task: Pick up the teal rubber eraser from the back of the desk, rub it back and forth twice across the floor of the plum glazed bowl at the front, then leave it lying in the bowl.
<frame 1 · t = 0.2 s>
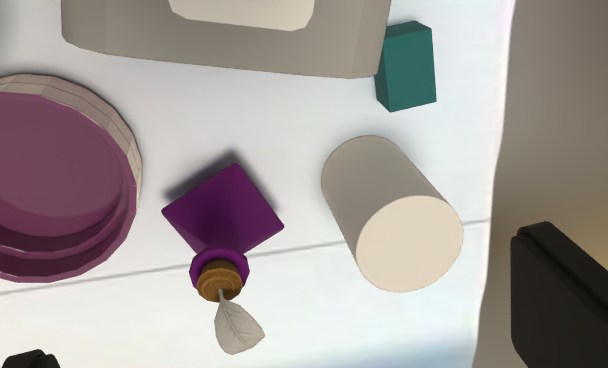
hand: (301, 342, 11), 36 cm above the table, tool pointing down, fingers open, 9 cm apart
bowl: (44, 165, 46), on the table
eraser: (395, 61, 48), on the table
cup: (364, 176, 52), on the table
perfume bottle: (222, 200, 50), on the table
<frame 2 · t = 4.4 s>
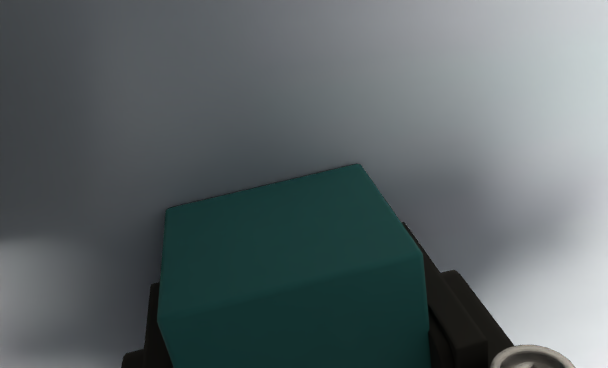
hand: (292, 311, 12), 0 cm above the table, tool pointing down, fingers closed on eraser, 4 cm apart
eraser: (290, 302, 13), on the table, touching gripper
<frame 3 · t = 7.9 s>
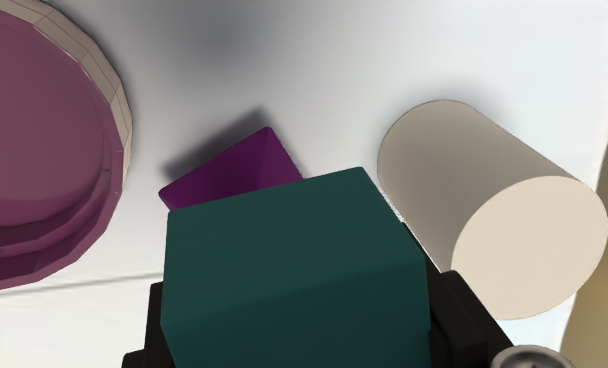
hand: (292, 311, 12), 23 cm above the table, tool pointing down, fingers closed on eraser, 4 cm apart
eraser: (292, 304, 13), point 23 cm above the table, touching gripper
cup: (434, 157, 38), on the table
perfume bottle: (242, 183, 37), on the table
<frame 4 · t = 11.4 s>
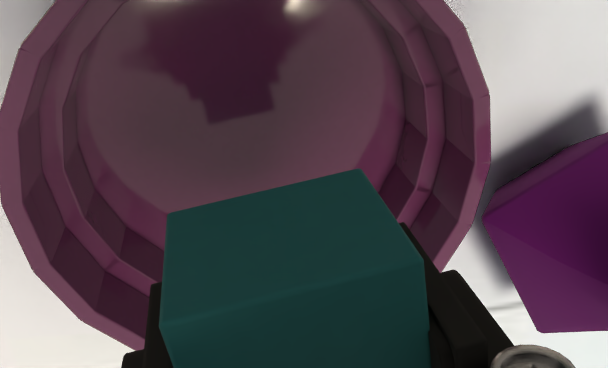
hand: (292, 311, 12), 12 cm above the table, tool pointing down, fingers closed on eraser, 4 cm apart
bowl: (247, 124, 23), on the table
eraser: (291, 306, 13), point 11 cm above the table, touching gripper
perfume bottle: (544, 198, 27), on the table
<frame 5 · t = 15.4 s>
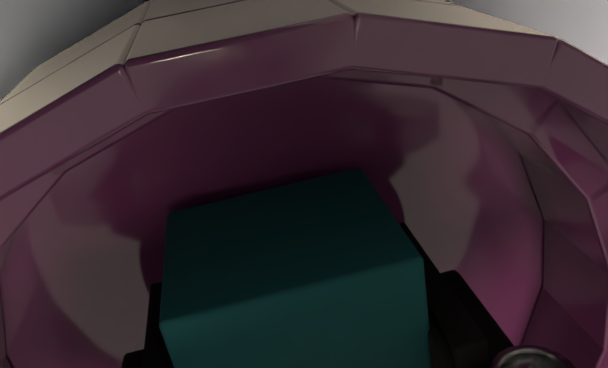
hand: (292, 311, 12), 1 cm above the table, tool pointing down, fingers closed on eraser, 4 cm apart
bowl: (289, 302, 14), on the table
eraser: (291, 305, 13), point 1 cm above the table, touching gripper
when the fingers open (1 cm above the table, at t = 18.7 s): eraser stays where it is, resting on bowl.
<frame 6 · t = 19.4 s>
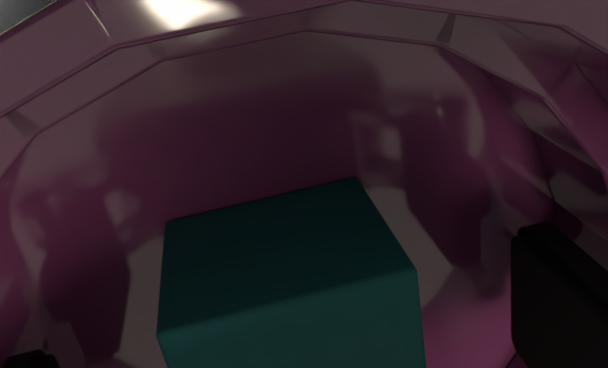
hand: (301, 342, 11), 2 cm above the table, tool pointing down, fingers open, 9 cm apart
bowl: (285, 288, 13), on the table
eraser: (288, 313, 13), point 1 cm above the table, touching bowl
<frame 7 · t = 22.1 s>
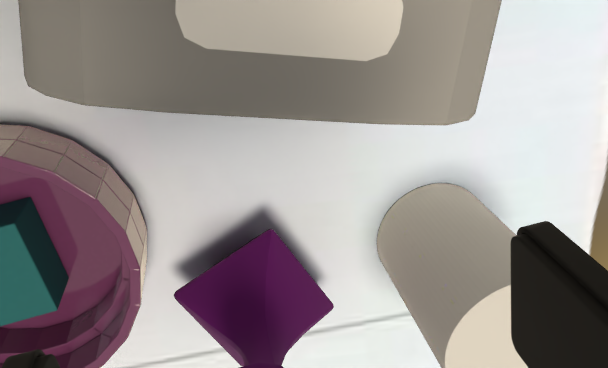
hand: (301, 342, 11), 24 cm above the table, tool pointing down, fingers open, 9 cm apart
bowl: (20, 238, 35), on the table
eraser: (18, 247, 35), point 1 cm above the table, touching bowl
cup: (430, 234, 41), on the table
perfume bottle: (251, 272, 39), on the table
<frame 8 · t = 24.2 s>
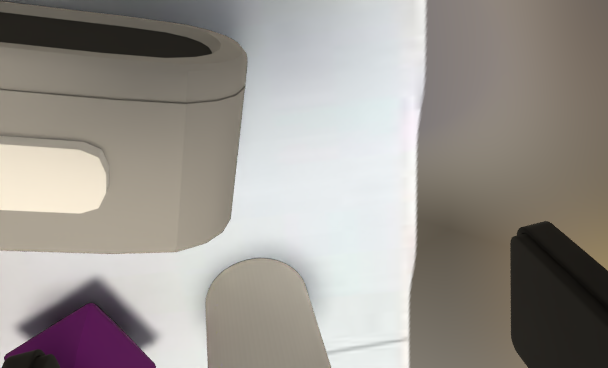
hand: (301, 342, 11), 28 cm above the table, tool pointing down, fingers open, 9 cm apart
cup: (256, 300, 46), on the table
perfume bottle: (89, 331, 44), on the table
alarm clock: (68, 82, 36), on the table
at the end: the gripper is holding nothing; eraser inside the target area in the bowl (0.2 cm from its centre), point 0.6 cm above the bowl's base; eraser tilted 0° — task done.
